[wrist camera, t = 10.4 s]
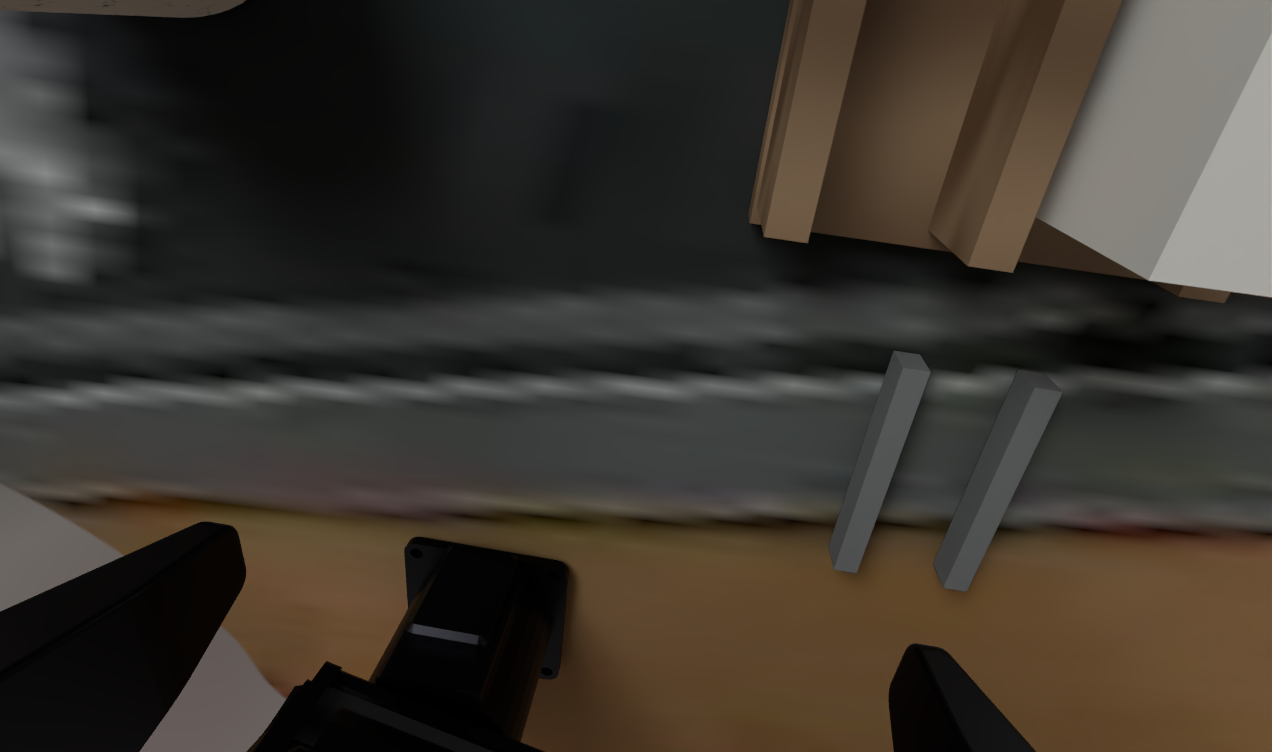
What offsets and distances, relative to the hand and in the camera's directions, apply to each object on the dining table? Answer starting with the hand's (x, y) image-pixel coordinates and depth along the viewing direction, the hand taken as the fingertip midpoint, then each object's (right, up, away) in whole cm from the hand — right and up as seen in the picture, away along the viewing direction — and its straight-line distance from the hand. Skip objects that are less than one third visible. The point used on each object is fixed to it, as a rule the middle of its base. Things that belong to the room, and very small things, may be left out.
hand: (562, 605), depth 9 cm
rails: (+11, 0, +13) cm, 17 cm away
